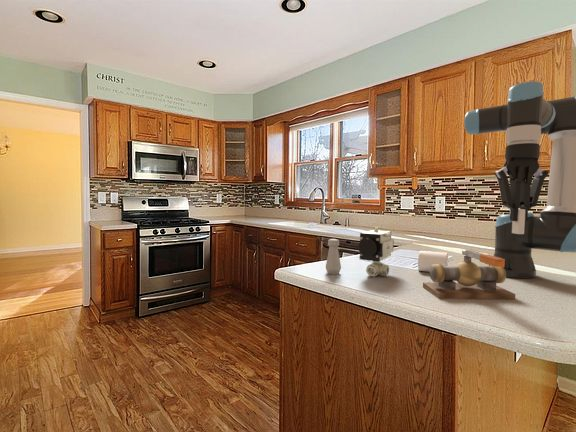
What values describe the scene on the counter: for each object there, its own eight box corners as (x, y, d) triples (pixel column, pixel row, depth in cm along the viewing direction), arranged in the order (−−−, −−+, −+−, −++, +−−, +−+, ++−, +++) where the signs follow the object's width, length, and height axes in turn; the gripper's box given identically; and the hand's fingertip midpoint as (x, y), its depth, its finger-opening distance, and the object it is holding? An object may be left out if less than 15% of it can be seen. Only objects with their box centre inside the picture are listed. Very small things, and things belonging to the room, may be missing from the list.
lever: (459, 254, 106) (460, 248, 106) (470, 254, 106) (470, 248, 106) (492, 266, 88) (493, 259, 88) (505, 266, 88) (505, 259, 88)
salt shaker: (343, 273, 130) (344, 239, 129) (335, 276, 125) (335, 240, 125) (331, 271, 134) (331, 237, 133) (322, 273, 129) (322, 239, 129)
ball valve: (380, 281, 117) (381, 230, 116) (356, 278, 122) (357, 228, 121) (395, 272, 132) (396, 226, 131) (373, 269, 137) (374, 225, 136)
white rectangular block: (445, 275, 127) (446, 254, 127) (417, 272, 132) (418, 252, 131) (448, 269, 138) (448, 250, 137) (421, 267, 142) (422, 247, 142)
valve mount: (491, 287, 111) (492, 253, 110) (515, 299, 99) (517, 260, 98) (422, 287, 111) (423, 252, 110) (438, 298, 99) (439, 259, 98)
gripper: (537, 146, 94) (532, 232, 95) (489, 146, 94) (485, 231, 95) (558, 142, 86) (553, 235, 87) (506, 141, 86) (501, 234, 88)
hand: (517, 233), depth 91 cm, fingers closed
